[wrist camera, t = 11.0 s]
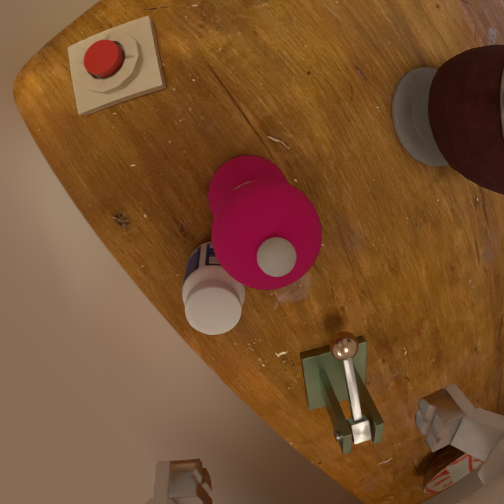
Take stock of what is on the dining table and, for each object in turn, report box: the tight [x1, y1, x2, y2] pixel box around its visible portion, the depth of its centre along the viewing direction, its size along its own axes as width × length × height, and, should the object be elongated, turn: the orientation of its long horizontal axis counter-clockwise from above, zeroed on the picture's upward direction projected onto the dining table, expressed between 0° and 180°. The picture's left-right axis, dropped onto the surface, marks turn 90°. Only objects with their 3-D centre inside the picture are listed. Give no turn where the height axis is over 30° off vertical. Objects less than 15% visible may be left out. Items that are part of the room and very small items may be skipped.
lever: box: [329, 332, 371, 444], centre depth 33 cm, size 14×3×3 cm
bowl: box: [422, 444, 483, 495], centre depth 57 cm, size 25×25×8 cm
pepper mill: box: [208, 155, 322, 290], centre depth 23 cm, size 7×7×20 cm
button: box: [84, 40, 123, 77], centre depth 22 cm, size 3×3×2 cm
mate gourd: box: [391, 45, 504, 195], centre depth 21 cm, size 16×14×20 cm
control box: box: [68, 16, 166, 115], centre depth 24 cm, size 9×8×4 cm
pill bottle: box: [182, 242, 245, 335], centre depth 30 cm, size 6×6×10 cm
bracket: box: [300, 336, 384, 454], centre depth 37 cm, size 11×9×13 cm
